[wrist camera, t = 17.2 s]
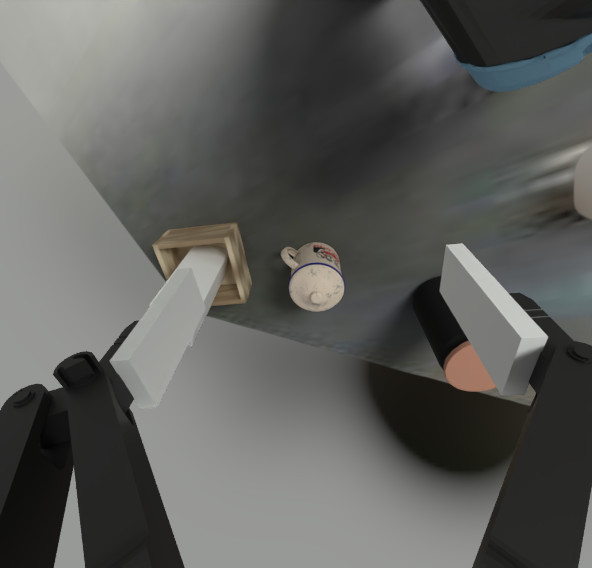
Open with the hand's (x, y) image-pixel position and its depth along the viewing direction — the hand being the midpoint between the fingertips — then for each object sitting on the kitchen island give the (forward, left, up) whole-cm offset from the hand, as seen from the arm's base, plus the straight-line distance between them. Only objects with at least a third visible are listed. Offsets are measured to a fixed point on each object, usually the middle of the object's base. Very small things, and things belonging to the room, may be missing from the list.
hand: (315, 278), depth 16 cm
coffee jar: (+28, +22, -37) cm, 51 cm away
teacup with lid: (+17, -2, -37) cm, 41 cm away
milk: (+15, -20, -36) cm, 44 cm away
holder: (+15, -20, -36) cm, 44 cm away
